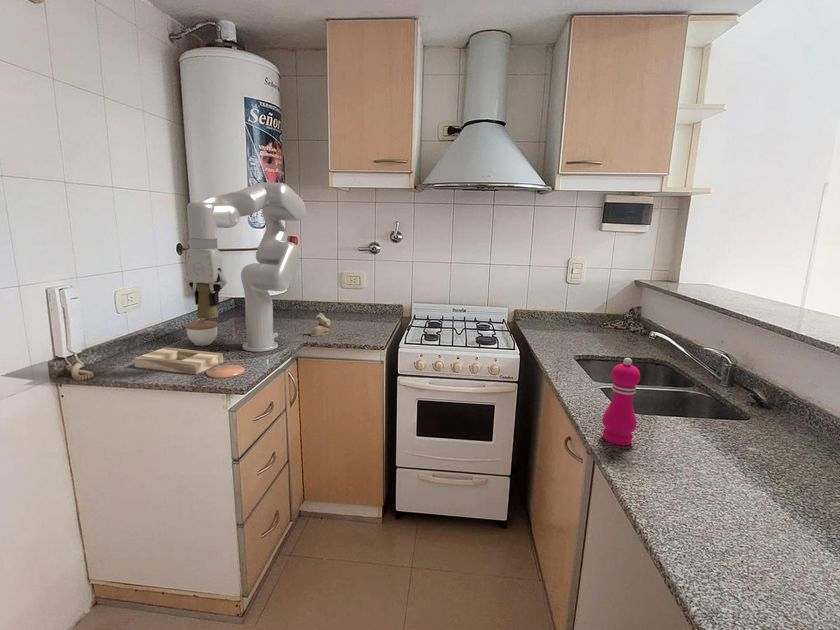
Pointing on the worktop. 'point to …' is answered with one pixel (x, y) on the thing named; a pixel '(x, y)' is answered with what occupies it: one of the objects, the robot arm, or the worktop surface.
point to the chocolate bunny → (321, 325)
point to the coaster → (225, 371)
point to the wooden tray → (179, 360)
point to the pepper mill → (621, 405)
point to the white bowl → (202, 332)
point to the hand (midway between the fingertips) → (207, 304)
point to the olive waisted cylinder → (205, 302)
